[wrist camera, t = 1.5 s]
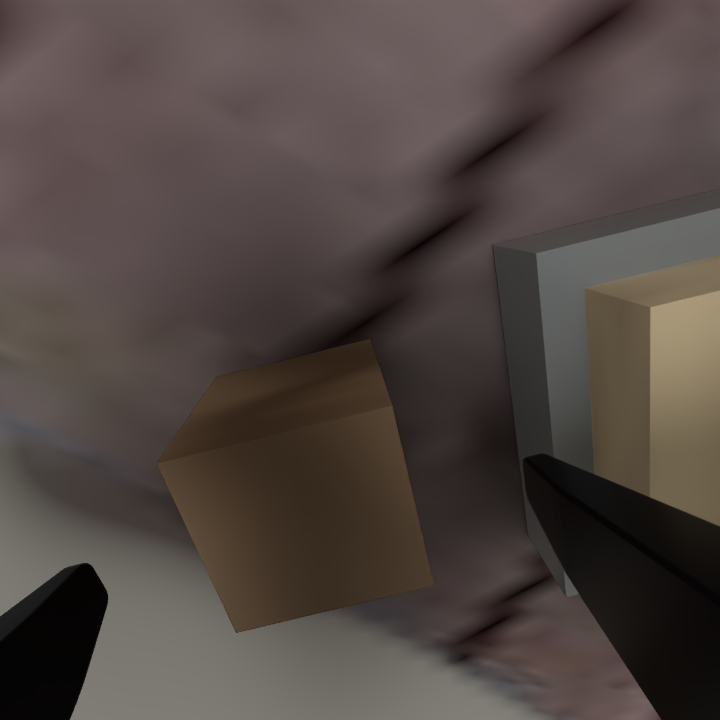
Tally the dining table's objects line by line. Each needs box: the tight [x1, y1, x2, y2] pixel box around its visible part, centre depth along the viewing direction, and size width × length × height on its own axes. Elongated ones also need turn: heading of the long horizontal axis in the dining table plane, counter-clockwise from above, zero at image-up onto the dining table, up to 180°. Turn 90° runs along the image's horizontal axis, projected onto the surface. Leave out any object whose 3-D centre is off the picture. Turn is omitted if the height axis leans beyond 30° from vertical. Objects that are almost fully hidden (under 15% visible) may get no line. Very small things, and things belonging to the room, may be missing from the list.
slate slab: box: [493, 189, 720, 597], centre depth 12 cm, size 10×10×2 cm
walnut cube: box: [157, 339, 434, 633], centre depth 11 cm, size 4×4×4 cm
